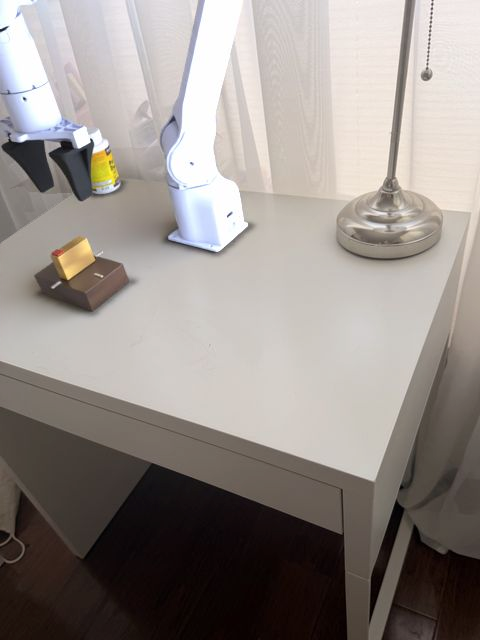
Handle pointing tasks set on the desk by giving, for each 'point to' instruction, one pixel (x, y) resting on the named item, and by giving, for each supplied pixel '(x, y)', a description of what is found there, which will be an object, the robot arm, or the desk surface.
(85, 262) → the thumbturn
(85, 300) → the plate
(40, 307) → the desk surface
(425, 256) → the desk surface
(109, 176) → the supplement bottle
